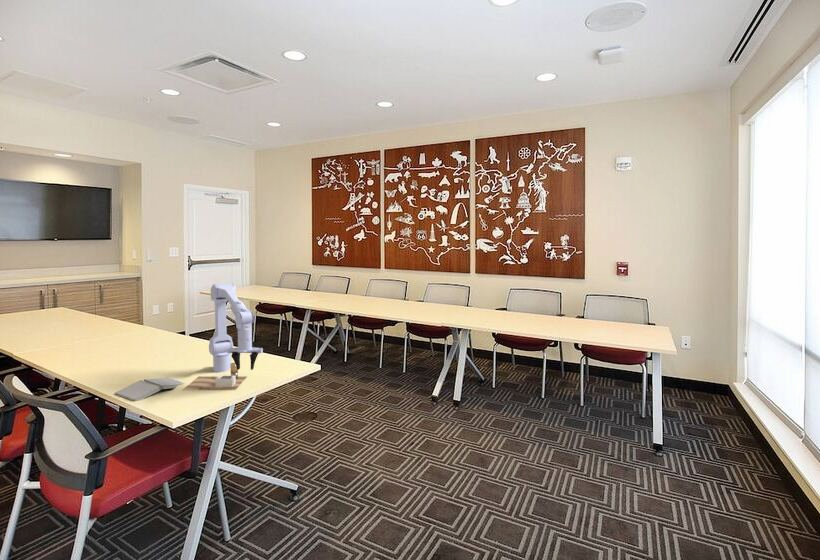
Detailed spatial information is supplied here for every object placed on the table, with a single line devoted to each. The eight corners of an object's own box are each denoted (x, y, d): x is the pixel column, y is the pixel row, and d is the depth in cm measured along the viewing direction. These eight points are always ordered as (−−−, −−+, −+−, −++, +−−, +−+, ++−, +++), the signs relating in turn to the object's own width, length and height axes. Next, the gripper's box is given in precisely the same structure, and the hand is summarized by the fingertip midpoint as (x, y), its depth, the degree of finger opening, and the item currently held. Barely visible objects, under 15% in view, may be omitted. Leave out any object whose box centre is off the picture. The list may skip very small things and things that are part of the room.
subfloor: (198, 379, 208) (198, 376, 208) (247, 378, 209) (247, 376, 209) (182, 392, 190) (182, 389, 190) (235, 392, 192) (235, 389, 191)
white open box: (219, 383, 199) (219, 375, 199) (235, 383, 200) (235, 375, 199) (215, 387, 194) (215, 378, 194) (232, 387, 195) (231, 378, 194)
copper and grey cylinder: (231, 377, 207) (231, 362, 207) (239, 377, 208) (238, 362, 207) (229, 379, 204) (229, 364, 203) (236, 379, 204) (236, 364, 204)
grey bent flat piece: (134, 403, 179) (134, 394, 179) (114, 395, 187) (114, 387, 186) (187, 387, 199) (187, 379, 198) (167, 380, 206) (167, 372, 206)
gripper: (224, 340, 191) (225, 371, 192) (259, 340, 192) (259, 371, 193) (229, 336, 198) (230, 367, 199) (263, 337, 199) (264, 367, 200)
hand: (245, 369), depth 197 cm, fingers open, 5 cm apart
